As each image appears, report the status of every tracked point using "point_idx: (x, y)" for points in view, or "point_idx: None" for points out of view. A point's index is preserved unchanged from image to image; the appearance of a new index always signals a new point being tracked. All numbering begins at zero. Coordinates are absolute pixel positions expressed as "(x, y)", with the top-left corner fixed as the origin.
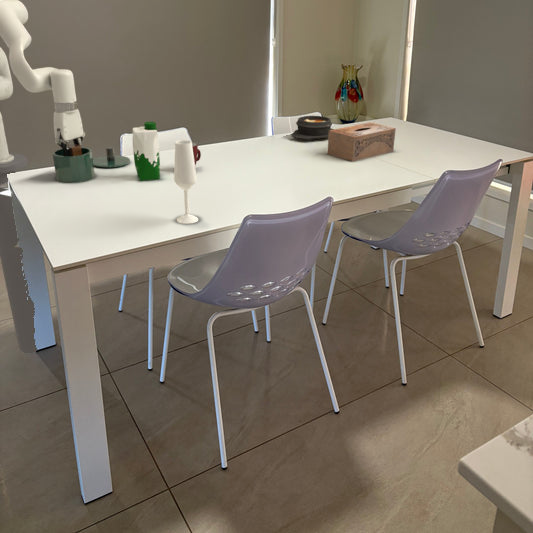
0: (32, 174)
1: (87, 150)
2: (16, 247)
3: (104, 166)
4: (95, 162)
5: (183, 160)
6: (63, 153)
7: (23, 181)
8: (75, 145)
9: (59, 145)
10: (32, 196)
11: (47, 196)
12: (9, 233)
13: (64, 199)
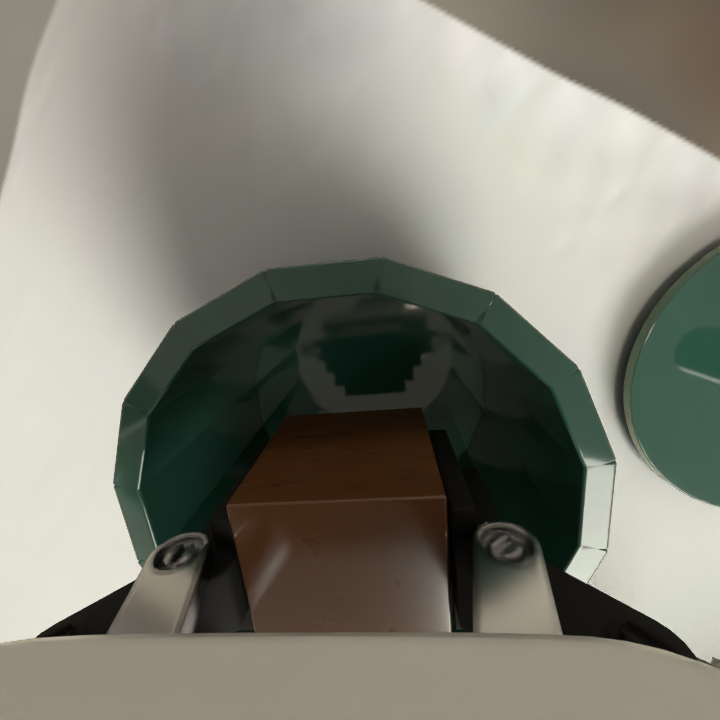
0: (218, 52)
1: (552, 553)
2: None
3: (631, 431)
4: (695, 308)
5: None
6: (245, 470)
7: (82, 163)
8: (396, 620)
9: (68, 624)
10: (3, 452)
11: (60, 510)
12: None
13: (97, 597)
